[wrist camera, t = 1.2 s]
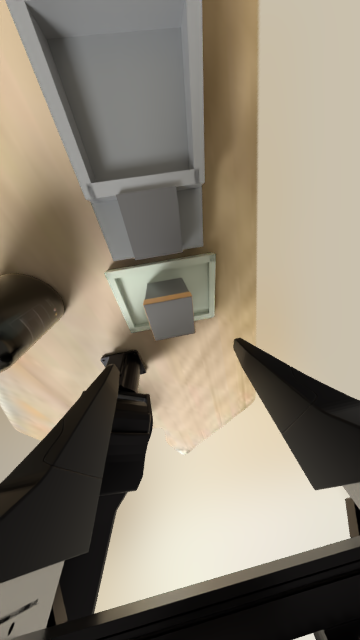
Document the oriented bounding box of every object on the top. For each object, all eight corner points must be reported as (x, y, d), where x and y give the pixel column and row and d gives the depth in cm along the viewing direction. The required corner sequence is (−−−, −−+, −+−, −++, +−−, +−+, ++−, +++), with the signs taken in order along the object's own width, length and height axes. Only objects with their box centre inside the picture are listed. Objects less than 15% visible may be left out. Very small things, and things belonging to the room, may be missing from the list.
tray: (211, 312, 22) (214, 316, 21) (132, 327, 21) (131, 333, 20) (212, 252, 17) (215, 253, 16) (107, 270, 16) (104, 272, 15)
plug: (185, 307, 20) (195, 333, 15) (155, 313, 20) (154, 341, 15) (182, 277, 17) (192, 295, 12) (146, 283, 17) (142, 305, 12)
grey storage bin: (198, 244, 16) (209, 248, 13) (118, 257, 15) (108, 265, 12) (189, 32, 9) (209, -84, 6) (40, 45, 8) (-35, -74, 5)
